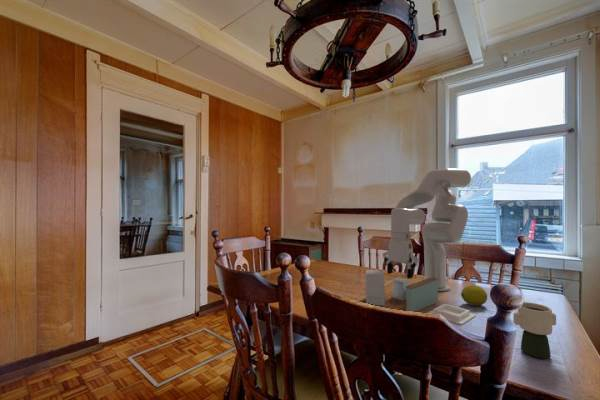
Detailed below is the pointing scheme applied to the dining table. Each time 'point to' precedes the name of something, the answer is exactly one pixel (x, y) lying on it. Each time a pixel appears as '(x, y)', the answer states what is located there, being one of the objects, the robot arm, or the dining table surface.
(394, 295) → the block
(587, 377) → the dining table surface
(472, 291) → the lemon
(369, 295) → the supplement box
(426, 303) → the door board
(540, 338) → the character mug
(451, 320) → the cradle
